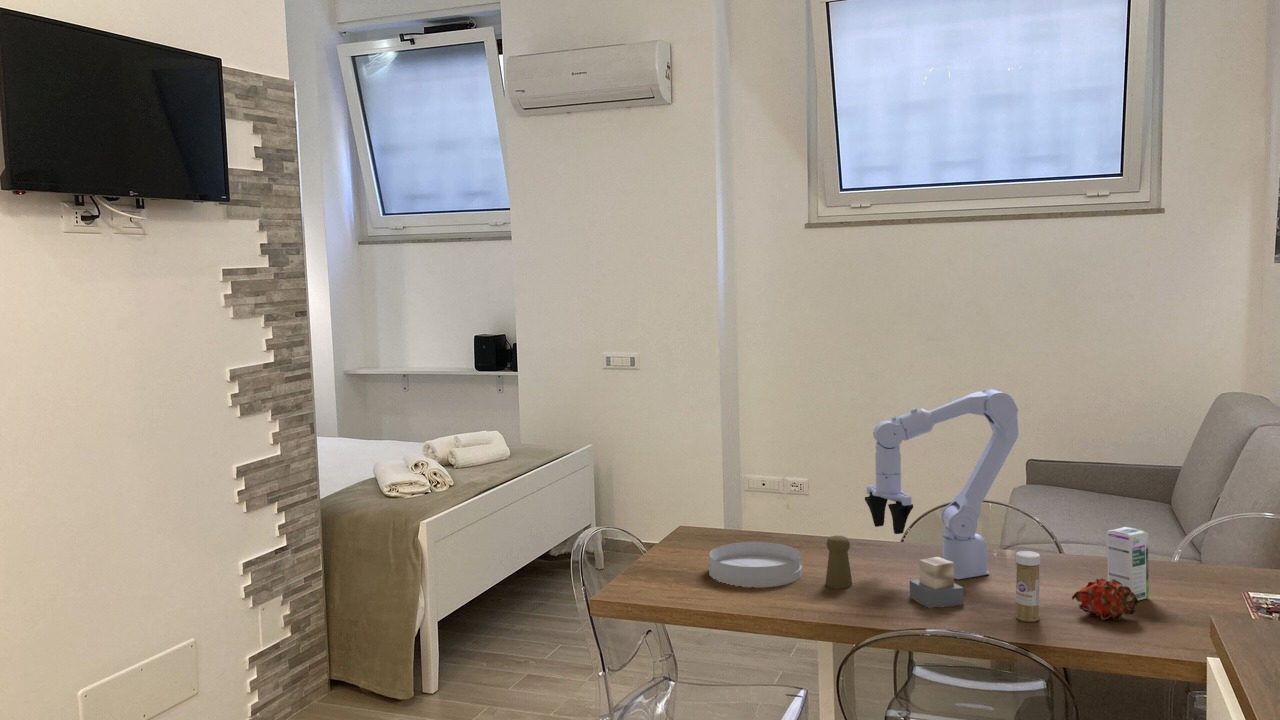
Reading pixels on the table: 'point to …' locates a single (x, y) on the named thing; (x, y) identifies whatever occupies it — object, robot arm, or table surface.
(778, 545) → the dish
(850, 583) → the cork
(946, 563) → the beech cube
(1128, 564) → the syrup box
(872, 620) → the table surface
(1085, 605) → the dragon fruit
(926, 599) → the grey block
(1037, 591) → the sprinkles bottle
